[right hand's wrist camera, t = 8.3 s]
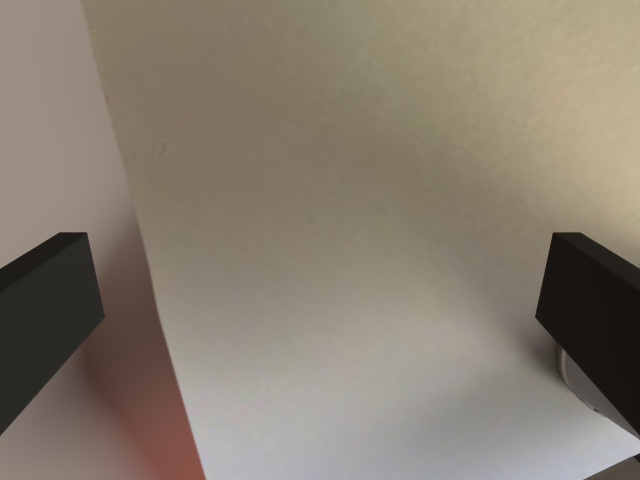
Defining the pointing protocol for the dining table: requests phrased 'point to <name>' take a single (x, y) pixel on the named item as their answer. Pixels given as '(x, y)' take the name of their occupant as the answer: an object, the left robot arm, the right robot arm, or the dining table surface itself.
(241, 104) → the dining table surface
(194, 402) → the dining table surface
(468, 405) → the dining table surface
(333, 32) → the dining table surface
